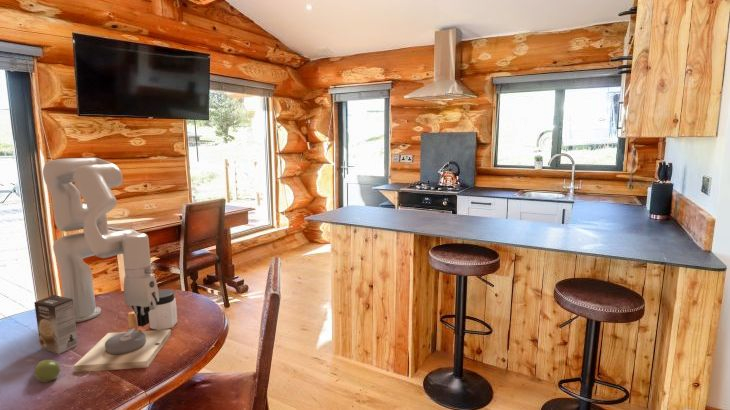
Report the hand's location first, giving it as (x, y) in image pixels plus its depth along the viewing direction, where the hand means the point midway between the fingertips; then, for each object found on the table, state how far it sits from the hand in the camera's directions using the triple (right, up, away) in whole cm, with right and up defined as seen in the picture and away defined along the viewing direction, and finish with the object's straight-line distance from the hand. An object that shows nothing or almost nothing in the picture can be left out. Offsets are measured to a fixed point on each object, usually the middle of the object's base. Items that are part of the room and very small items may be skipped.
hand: (143, 324), depth 134 cm
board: (-2, -7, -6) cm, 9 cm away
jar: (+1, -4, +12) cm, 13 cm away
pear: (-17, -9, -19) cm, 27 cm away
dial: (-3, -4, -5) cm, 7 cm away
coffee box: (-26, -7, -3) cm, 27 cm away
